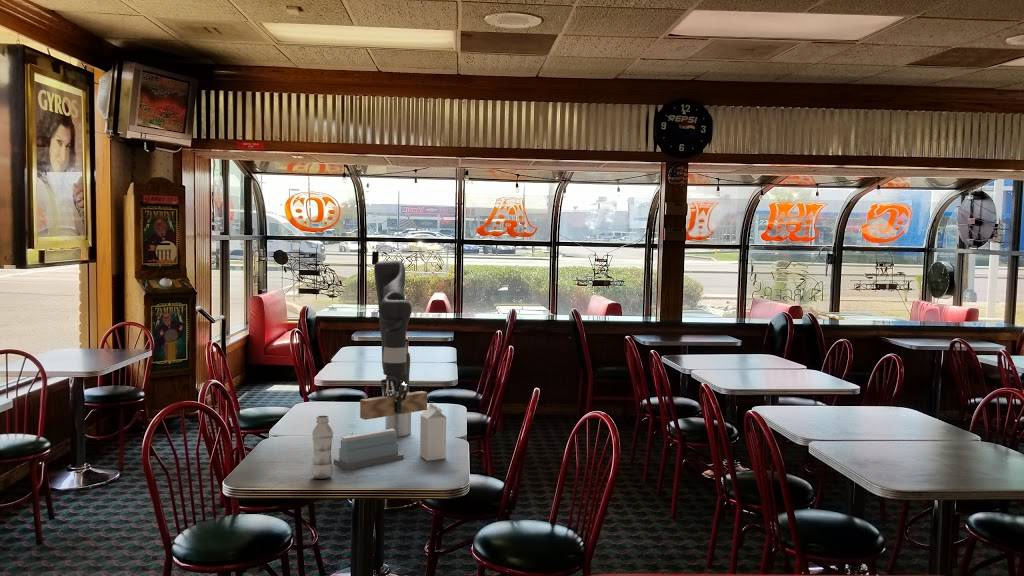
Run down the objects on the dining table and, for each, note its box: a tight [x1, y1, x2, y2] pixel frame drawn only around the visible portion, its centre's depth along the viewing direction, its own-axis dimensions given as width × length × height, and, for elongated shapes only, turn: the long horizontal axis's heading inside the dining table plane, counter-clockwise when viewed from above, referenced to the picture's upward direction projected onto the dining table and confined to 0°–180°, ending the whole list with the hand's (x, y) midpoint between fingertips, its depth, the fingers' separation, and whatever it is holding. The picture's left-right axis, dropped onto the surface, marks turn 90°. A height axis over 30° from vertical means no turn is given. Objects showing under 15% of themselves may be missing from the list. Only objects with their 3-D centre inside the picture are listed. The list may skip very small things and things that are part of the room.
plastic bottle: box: [311, 415, 334, 480], centre depth 251 cm, size 6×7×20 cm
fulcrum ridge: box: [333, 429, 405, 471], centre depth 272 cm, size 22×10×10 cm, turn 131°
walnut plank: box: [359, 390, 428, 421], centre depth 259 cm, size 24×3×6 cm, turn 131°
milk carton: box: [419, 402, 447, 462], centre depth 277 cm, size 7×7×19 cm
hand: (394, 411), depth 259 cm, fingers closed on walnut plank, 3 cm apart
